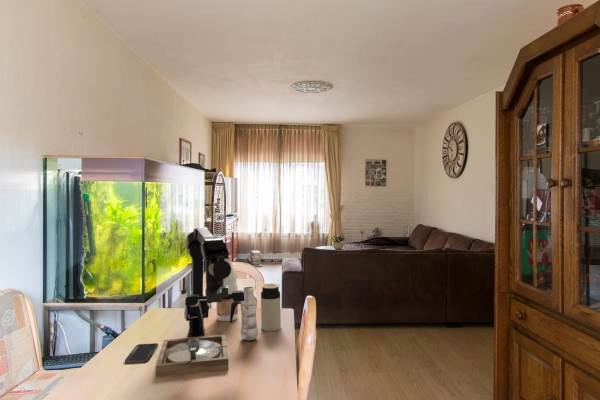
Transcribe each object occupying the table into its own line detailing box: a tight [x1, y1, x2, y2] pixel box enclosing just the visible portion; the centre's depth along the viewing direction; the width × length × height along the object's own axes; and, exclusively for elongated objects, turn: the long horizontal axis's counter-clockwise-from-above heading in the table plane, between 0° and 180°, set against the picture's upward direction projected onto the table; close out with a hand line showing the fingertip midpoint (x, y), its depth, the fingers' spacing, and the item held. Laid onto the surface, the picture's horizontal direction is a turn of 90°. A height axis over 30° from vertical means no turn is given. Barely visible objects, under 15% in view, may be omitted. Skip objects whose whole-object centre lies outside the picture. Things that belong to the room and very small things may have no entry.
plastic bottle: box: [239, 286, 259, 341], centre depth 152 cm, size 6×7×20 cm
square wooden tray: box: [155, 334, 230, 378], centre depth 135 cm, size 22×22×4 cm
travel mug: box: [260, 282, 282, 332], centre depth 164 cm, size 8×8×18 cm
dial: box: [166, 337, 221, 363], centre depth 135 cm, size 18×18×5 cm
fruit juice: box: [216, 255, 239, 322], centre depth 177 cm, size 9×9×28 cm
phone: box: [124, 342, 159, 365], centre depth 139 cm, size 8×1×15 cm
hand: (216, 324), depth 129 cm, fingers open, 9 cm apart
